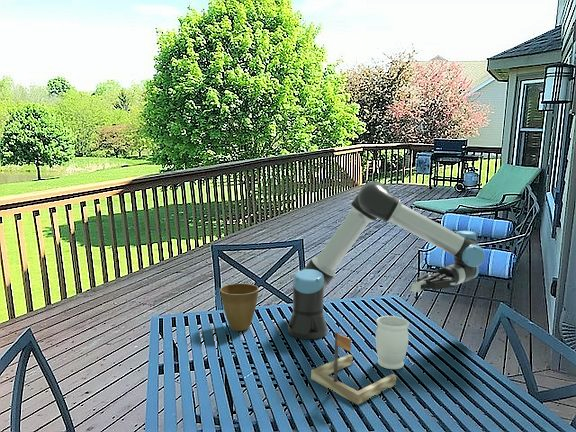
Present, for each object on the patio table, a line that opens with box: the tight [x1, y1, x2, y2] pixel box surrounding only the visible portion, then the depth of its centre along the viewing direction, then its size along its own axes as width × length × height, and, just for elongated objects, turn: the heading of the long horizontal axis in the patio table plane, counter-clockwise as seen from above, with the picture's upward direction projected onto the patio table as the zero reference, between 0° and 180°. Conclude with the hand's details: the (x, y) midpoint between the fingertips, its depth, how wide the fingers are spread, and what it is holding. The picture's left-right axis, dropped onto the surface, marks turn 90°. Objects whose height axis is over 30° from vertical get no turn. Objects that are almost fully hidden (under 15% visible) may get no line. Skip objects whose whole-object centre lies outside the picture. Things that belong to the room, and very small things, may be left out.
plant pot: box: [219, 283, 260, 332], centre depth 185 cm, size 15×15×16 cm
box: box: [310, 331, 397, 406], centre depth 143 cm, size 18×19×18 cm
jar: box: [375, 315, 410, 370], centre depth 155 cm, size 11×10×15 cm
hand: (413, 288), depth 160 cm, fingers closed
